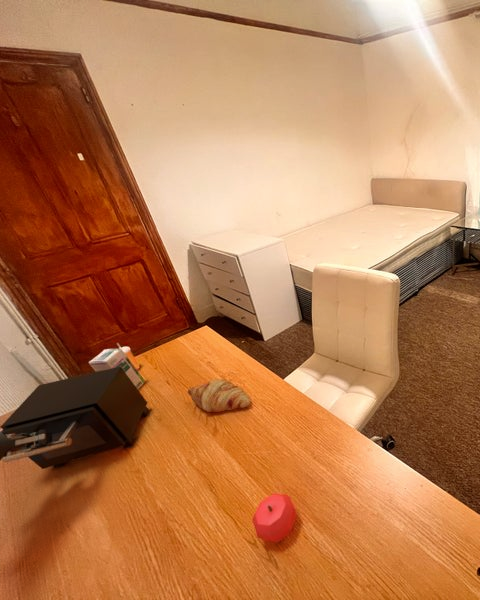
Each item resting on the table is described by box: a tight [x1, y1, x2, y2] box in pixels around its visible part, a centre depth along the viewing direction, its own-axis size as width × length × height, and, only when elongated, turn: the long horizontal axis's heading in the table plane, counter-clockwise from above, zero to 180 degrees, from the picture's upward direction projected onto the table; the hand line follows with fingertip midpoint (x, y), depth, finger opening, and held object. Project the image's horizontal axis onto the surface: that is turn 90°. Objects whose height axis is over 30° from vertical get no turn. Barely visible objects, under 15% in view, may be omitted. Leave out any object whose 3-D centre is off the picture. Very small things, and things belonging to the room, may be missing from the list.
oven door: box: [0, 406, 126, 470], centre depth 70 cm, size 8×17×14 cm, turn 108°
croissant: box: [187, 378, 251, 413], centre depth 90 cm, size 21×10×8 cm, turn 77°
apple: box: [252, 493, 297, 544], centre depth 60 cm, size 8×8×8 cm
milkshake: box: [116, 342, 141, 371], centre depth 104 cm, size 4×5×10 cm
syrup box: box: [88, 348, 146, 390], centre depth 95 cm, size 6×6×14 cm
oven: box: [0, 366, 150, 468], centre depth 79 cm, size 13×18×17 cm
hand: (47, 438), depth 68 cm, fingers closed
